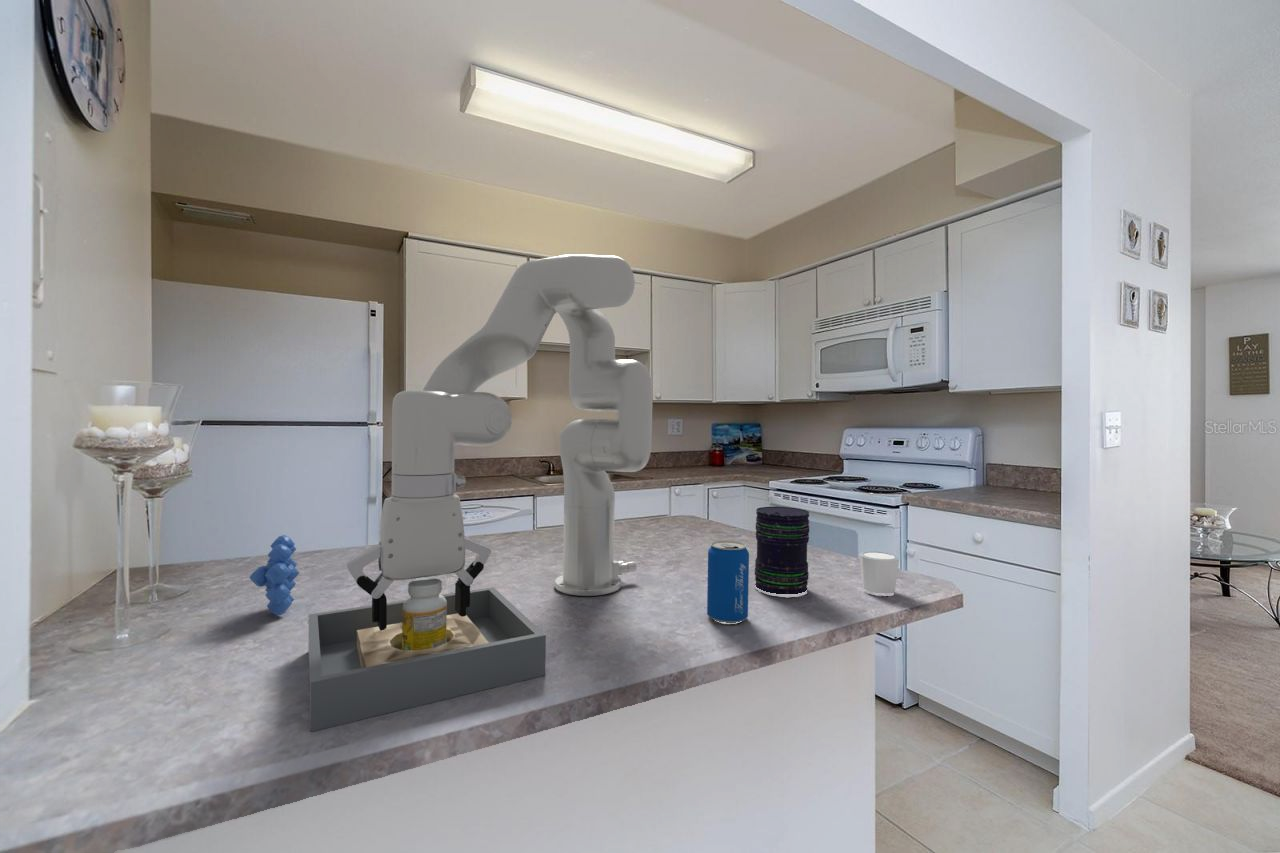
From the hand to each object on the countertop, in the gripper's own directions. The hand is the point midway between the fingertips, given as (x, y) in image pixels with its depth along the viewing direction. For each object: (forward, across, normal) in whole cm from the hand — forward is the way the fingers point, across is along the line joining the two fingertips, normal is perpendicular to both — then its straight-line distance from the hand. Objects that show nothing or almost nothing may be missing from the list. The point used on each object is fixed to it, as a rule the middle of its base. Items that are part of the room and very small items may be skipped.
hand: (422, 619), depth 72 cm
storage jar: (+6, -64, 0) cm, 64 cm away
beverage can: (+6, -45, +7) cm, 46 cm away
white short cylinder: (+6, -79, +10) cm, 80 cm away
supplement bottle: (+5, 0, 0) cm, 5 cm away
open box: (+6, 0, 0) cm, 6 cm away
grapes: (+6, +17, -31) cm, 36 cm away
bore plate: (+5, 0, 0) cm, 5 cm away
